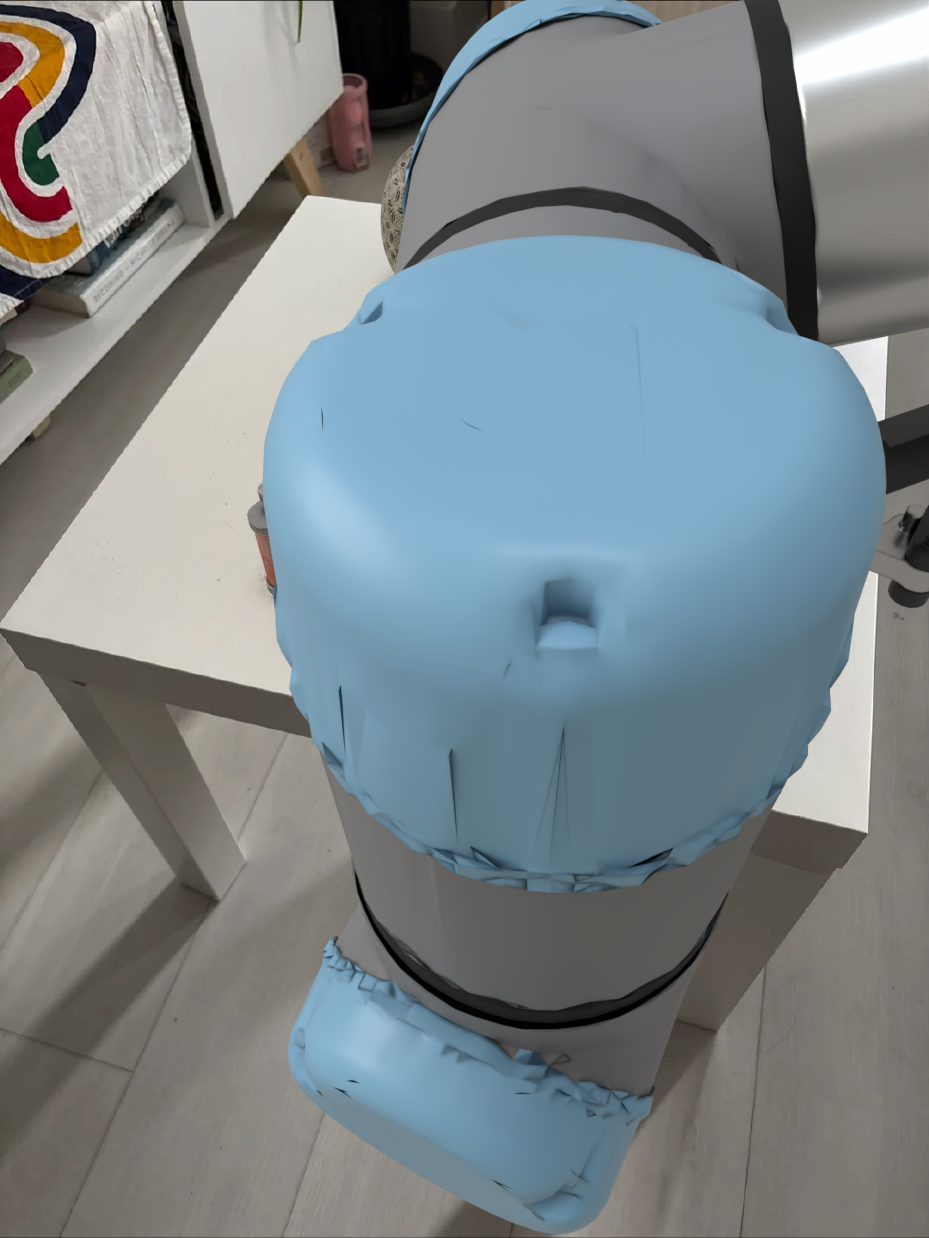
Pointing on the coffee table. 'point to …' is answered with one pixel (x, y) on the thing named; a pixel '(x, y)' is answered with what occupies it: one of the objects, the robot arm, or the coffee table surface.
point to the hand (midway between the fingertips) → (835, 259)
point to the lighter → (262, 537)
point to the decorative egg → (394, 207)
